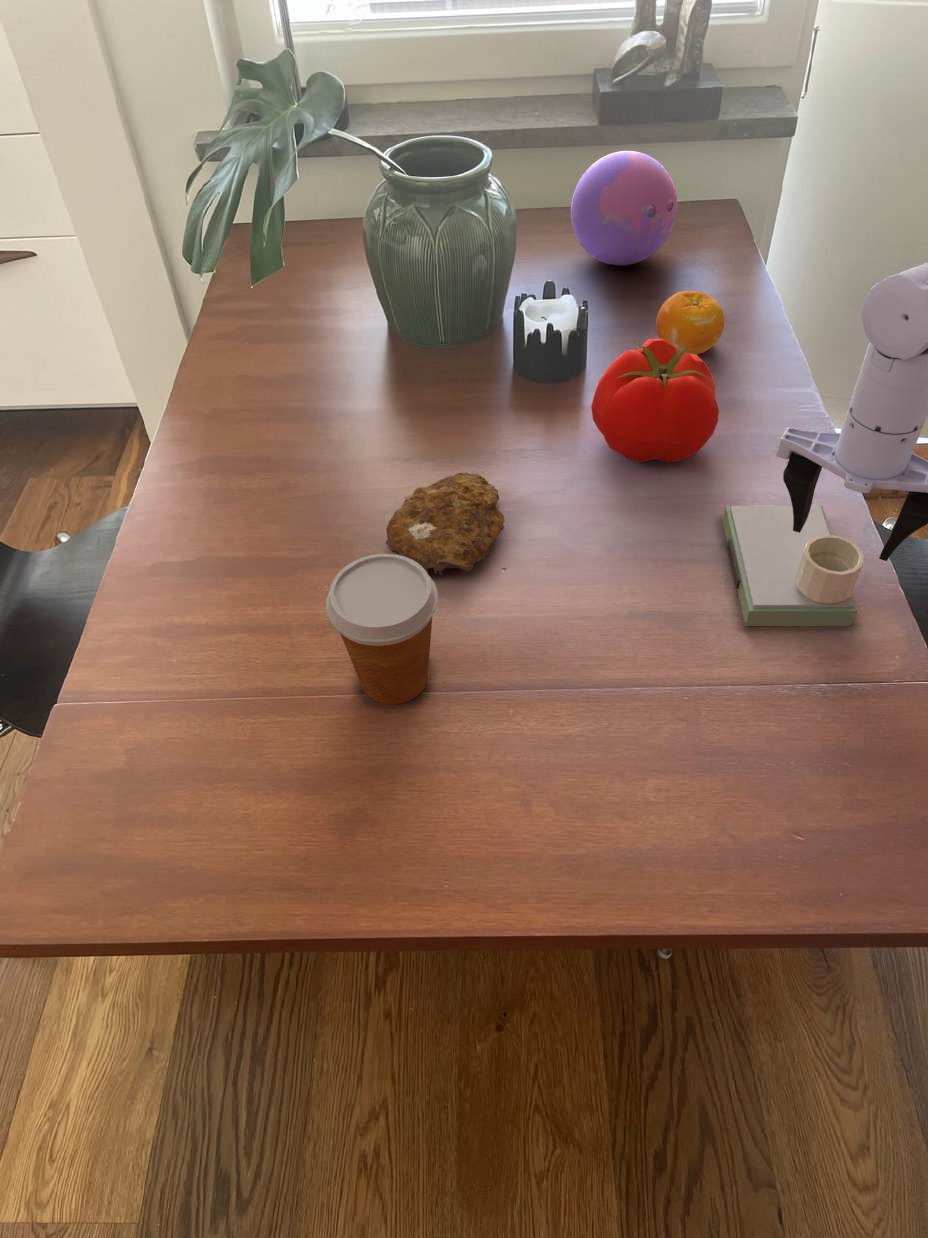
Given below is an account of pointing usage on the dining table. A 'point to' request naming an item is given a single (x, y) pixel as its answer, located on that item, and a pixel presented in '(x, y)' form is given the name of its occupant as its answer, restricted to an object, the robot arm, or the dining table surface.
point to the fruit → (690, 322)
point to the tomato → (656, 403)
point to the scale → (777, 567)
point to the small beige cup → (829, 569)
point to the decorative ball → (624, 208)
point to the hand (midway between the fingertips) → (841, 539)
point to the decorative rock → (447, 523)
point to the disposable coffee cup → (385, 623)
